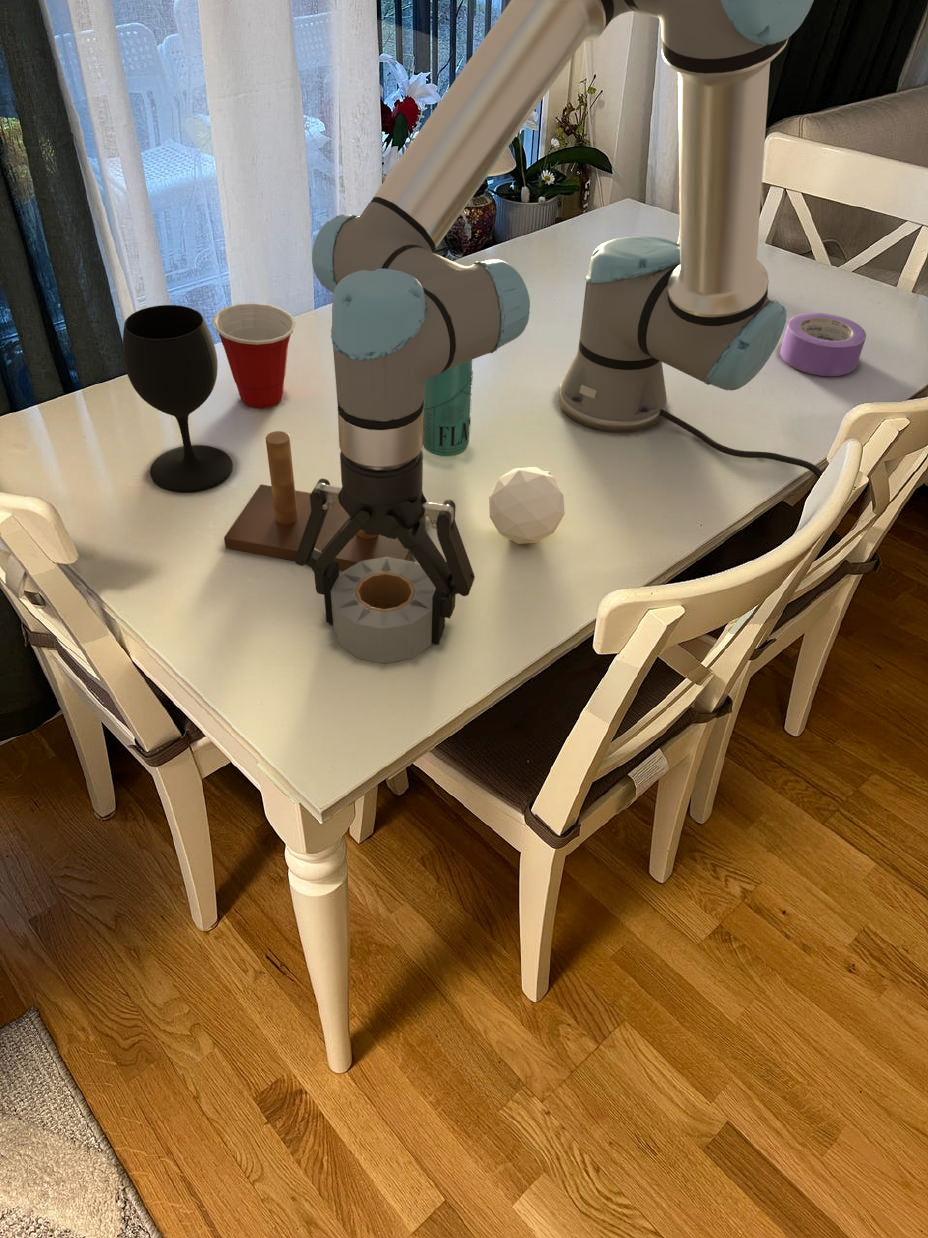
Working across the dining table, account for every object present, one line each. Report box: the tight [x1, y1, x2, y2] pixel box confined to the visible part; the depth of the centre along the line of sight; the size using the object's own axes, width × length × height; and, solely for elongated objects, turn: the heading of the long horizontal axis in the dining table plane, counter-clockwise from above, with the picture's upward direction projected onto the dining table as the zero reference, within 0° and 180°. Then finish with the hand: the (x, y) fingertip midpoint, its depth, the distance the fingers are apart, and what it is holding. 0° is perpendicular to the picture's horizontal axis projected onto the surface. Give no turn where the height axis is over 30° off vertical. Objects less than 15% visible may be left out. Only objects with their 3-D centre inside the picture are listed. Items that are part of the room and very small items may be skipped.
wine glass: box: [122, 304, 234, 494], centre depth 113 cm, size 10×10×20 cm
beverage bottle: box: [423, 359, 474, 457], centre depth 118 cm, size 6×7×20 cm
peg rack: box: [223, 430, 427, 571], centre depth 107 cm, size 21×11×13 cm, turn 77°
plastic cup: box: [212, 302, 297, 410], centre depth 129 cm, size 11×11×12 cm
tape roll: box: [779, 312, 867, 377], centre depth 147 cm, size 12×12×5 cm
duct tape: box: [331, 557, 436, 665], centre depth 99 cm, size 11×11×5 cm
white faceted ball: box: [488, 466, 566, 545], centre depth 111 cm, size 9×9×12 cm
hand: (385, 625), depth 100 cm, fingers closed on duct tape, 11 cm apart
